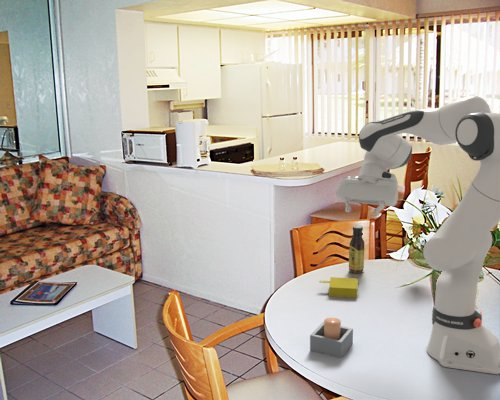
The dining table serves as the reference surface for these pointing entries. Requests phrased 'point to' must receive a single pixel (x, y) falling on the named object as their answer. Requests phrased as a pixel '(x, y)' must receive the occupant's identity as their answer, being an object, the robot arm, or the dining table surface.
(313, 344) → the gray open box
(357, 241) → the sauce bottle
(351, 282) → the yellow box with tab
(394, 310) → the dining table surface
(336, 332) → the canister
